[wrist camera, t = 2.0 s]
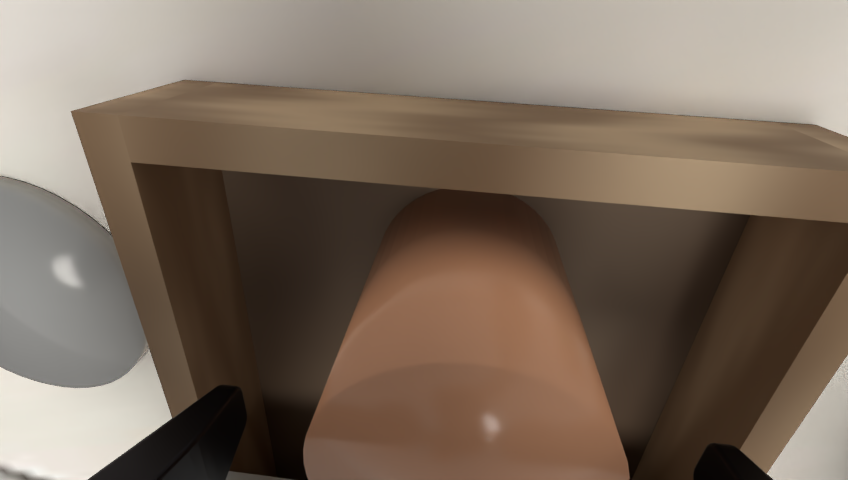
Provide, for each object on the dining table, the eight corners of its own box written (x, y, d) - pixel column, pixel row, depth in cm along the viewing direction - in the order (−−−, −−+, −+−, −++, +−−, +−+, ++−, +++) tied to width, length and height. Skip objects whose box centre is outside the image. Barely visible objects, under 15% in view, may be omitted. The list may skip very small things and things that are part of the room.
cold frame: (815, 125, 11) (1001, 193, 7) (602, 572, 22) (630, 698, 18) (183, 79, 13) (45, 118, 8) (274, 526, 23) (232, 636, 19)
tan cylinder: (577, 194, 12) (677, 386, 6) (541, 346, 15) (586, 585, 9) (378, 177, 13) (287, 343, 7) (378, 329, 15) (314, 546, 9)
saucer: (118, 186, 14) (100, 196, 14) (178, 384, 19) (167, 399, 18) (-134, 164, 15) (-164, 172, 14) (-19, 361, 19) (-37, 374, 19)
